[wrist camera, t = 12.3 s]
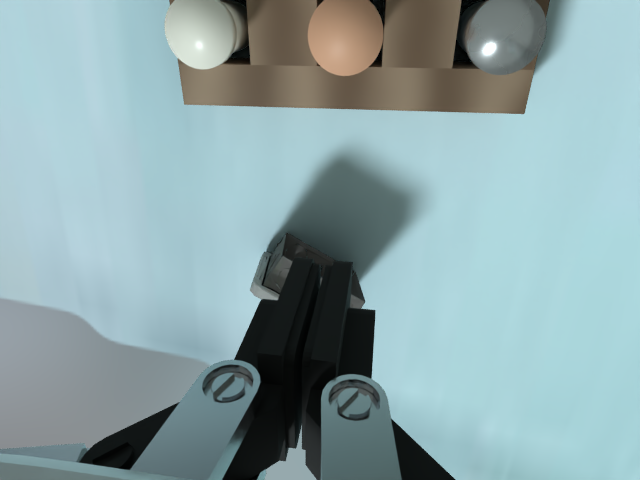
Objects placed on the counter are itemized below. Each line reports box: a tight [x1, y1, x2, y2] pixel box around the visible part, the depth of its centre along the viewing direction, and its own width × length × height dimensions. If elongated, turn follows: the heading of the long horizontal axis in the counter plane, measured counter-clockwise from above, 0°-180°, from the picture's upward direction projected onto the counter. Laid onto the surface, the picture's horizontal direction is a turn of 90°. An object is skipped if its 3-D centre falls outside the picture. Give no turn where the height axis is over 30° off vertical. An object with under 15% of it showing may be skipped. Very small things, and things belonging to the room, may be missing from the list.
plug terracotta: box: [308, 0, 383, 76], centre depth 27 cm, size 4×4×7 cm
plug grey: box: [456, 0, 546, 75], centre depth 28 cm, size 4×4×7 cm
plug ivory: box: [165, 0, 249, 69], centre depth 30 cm, size 4×4×7 cm
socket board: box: [169, 0, 550, 114], centre depth 30 cm, size 24×10×4 cm, turn 90°
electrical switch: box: [250, 232, 365, 309], centre depth 38 cm, size 9×5×9 cm, turn 60°
